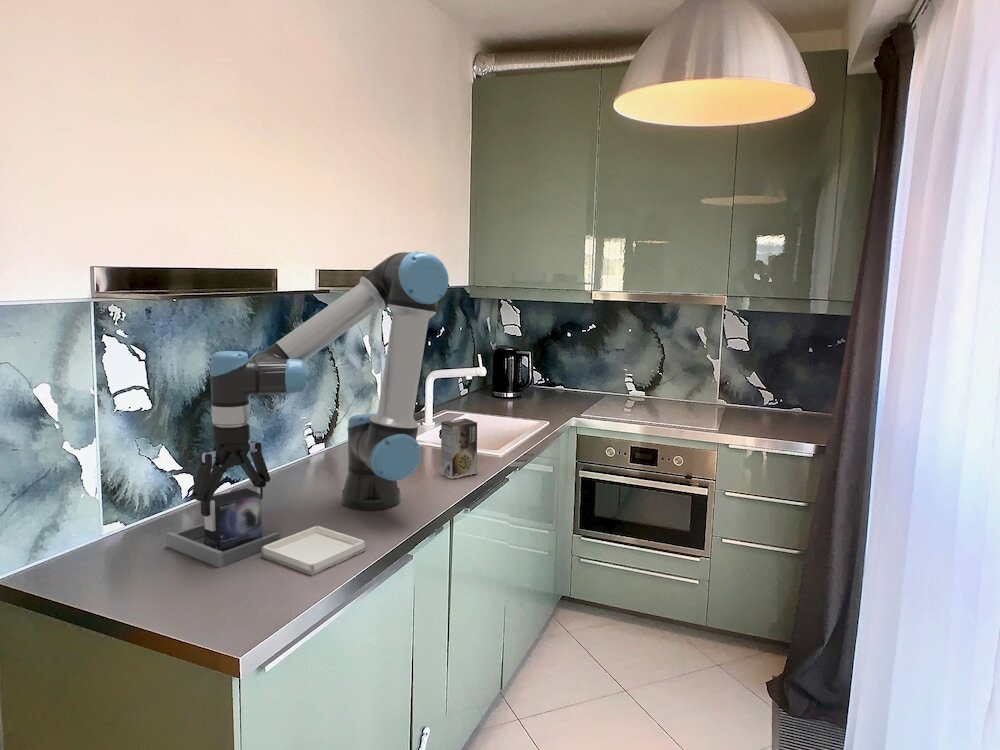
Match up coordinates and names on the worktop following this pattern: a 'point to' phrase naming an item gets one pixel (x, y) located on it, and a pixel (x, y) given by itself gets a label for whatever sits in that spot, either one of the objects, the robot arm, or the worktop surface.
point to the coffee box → (458, 447)
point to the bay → (186, 545)
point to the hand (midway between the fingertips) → (233, 521)
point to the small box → (235, 519)
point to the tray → (313, 549)
